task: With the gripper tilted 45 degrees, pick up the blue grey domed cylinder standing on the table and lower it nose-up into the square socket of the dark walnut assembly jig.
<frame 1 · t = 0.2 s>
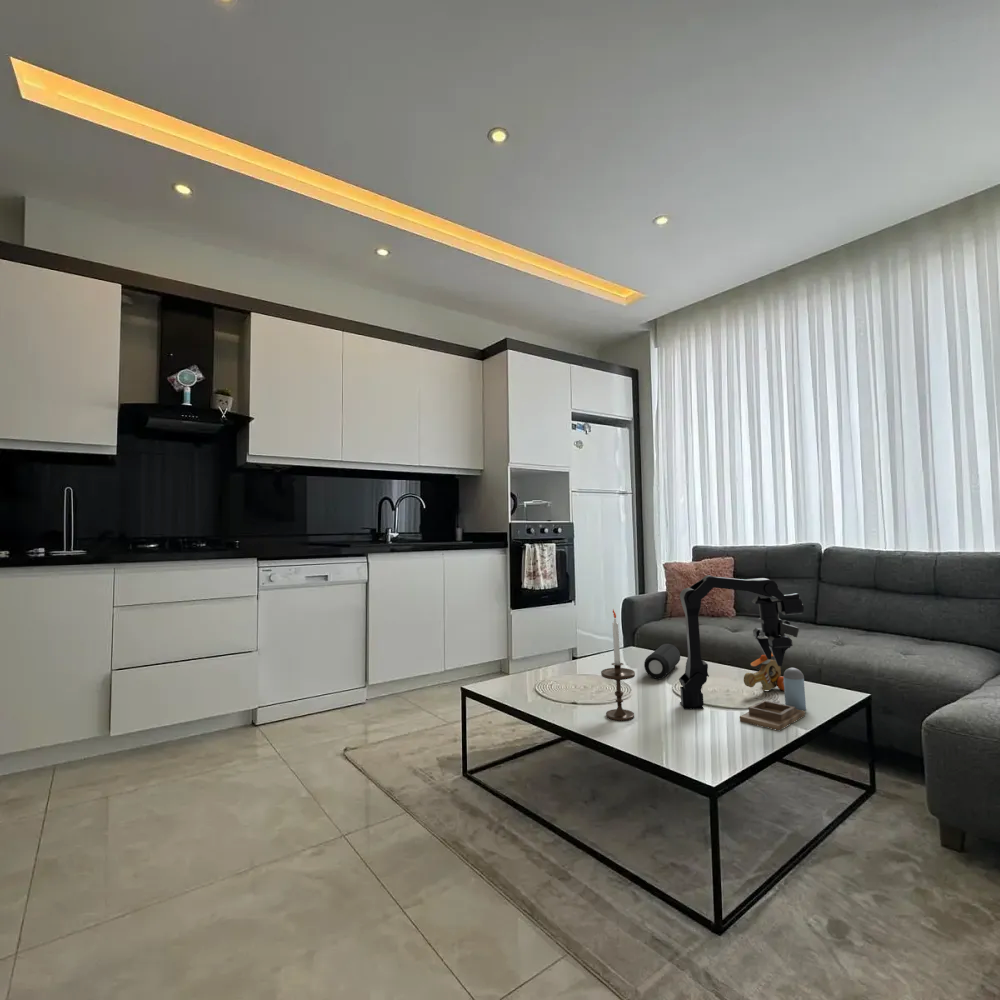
hand: (774, 662, 186), 14 cm above the table, tool pointing down, fingers open, 9 cm apart
blue grey domed cylinder: (795, 707, 183), on the table
candlestick: (620, 717, 182), on the table
portable speaker: (663, 673, 232), on the table
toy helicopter: (765, 692, 202), on the table
assembly jig: (772, 718, 174), on the table
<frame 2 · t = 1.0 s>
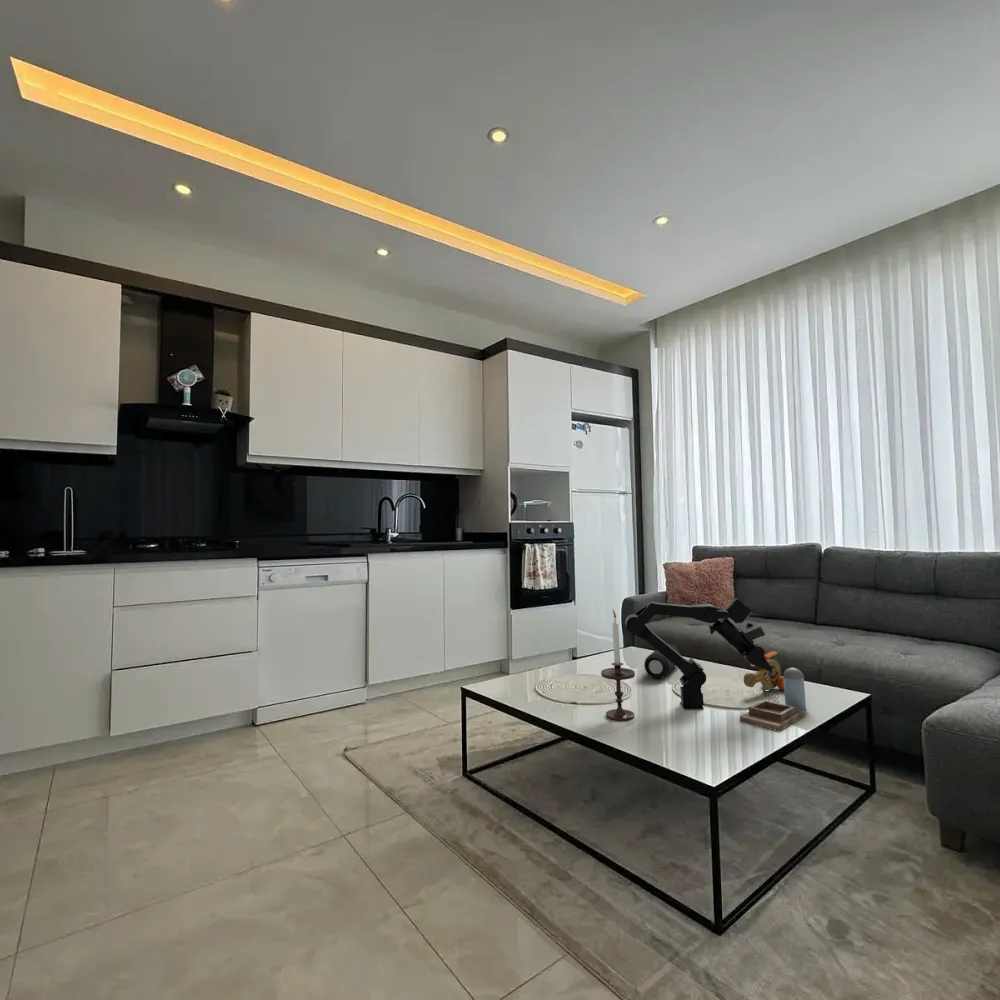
hand: (767, 666, 185), 13 cm above the table, tool tilted 45°, fingers open, 9 cm apart
nothing on the table moved.
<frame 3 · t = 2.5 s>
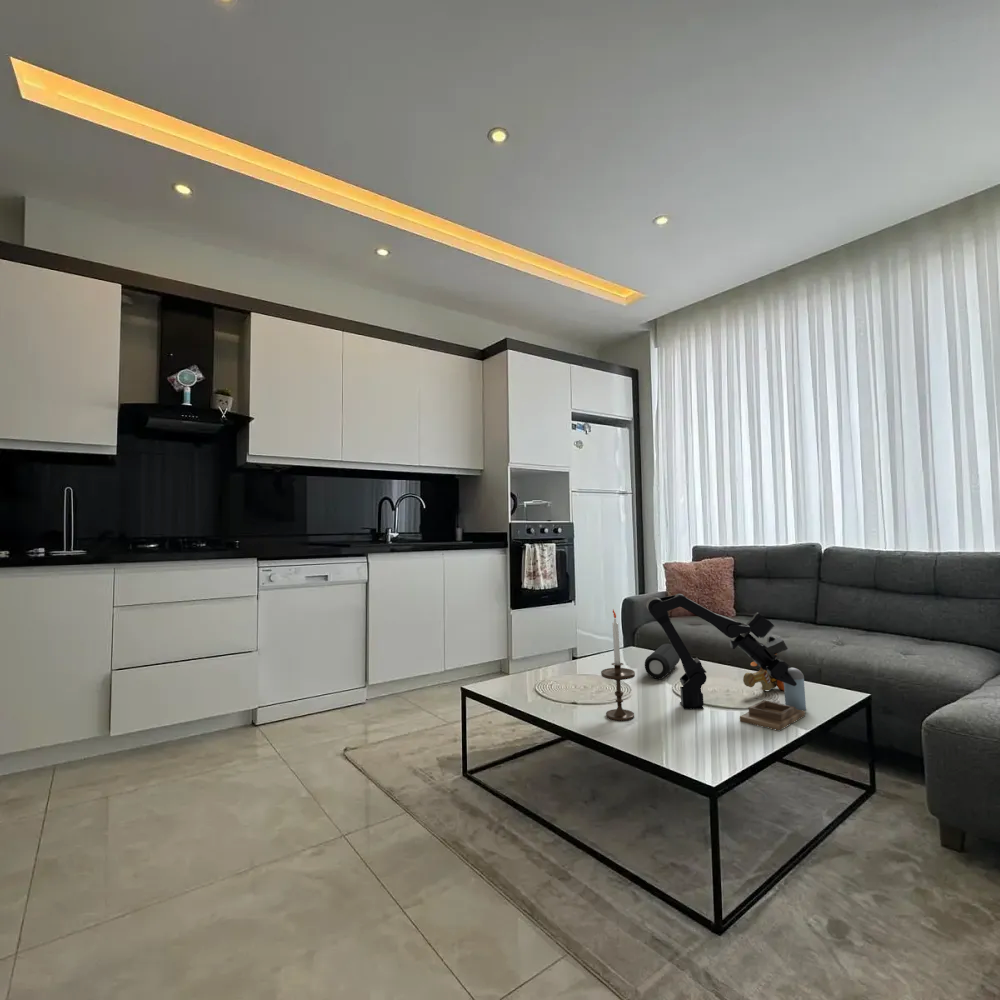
hand: (790, 681, 184), 9 cm above the table, tool tilted 45°, fingers open, 9 cm apart
nothing on the table moved.
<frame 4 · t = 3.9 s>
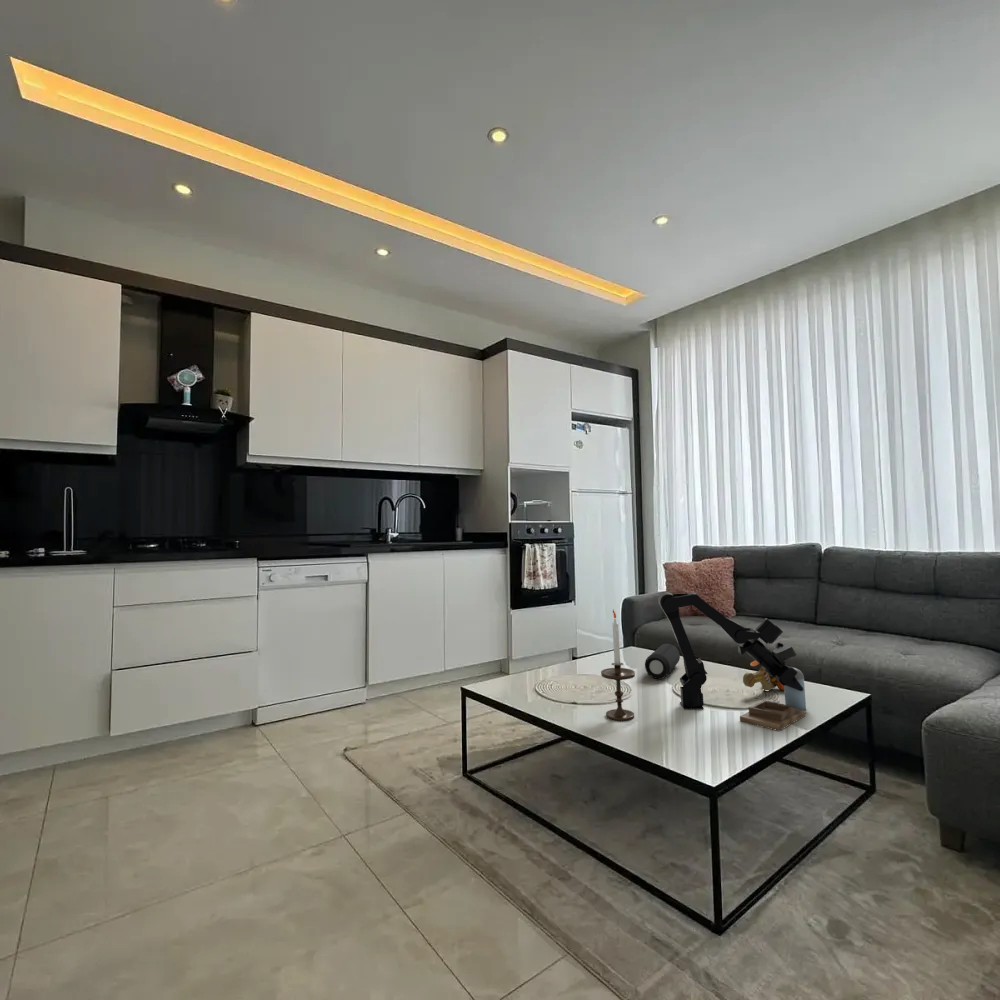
hand: (798, 687, 183), 7 cm above the table, tool tilted 45°, fingers closed on blue grey domed cylinder, 6 cm apart
blue grey domed cylinder: (795, 707, 183), on the table, touching gripper
everything else where it was.
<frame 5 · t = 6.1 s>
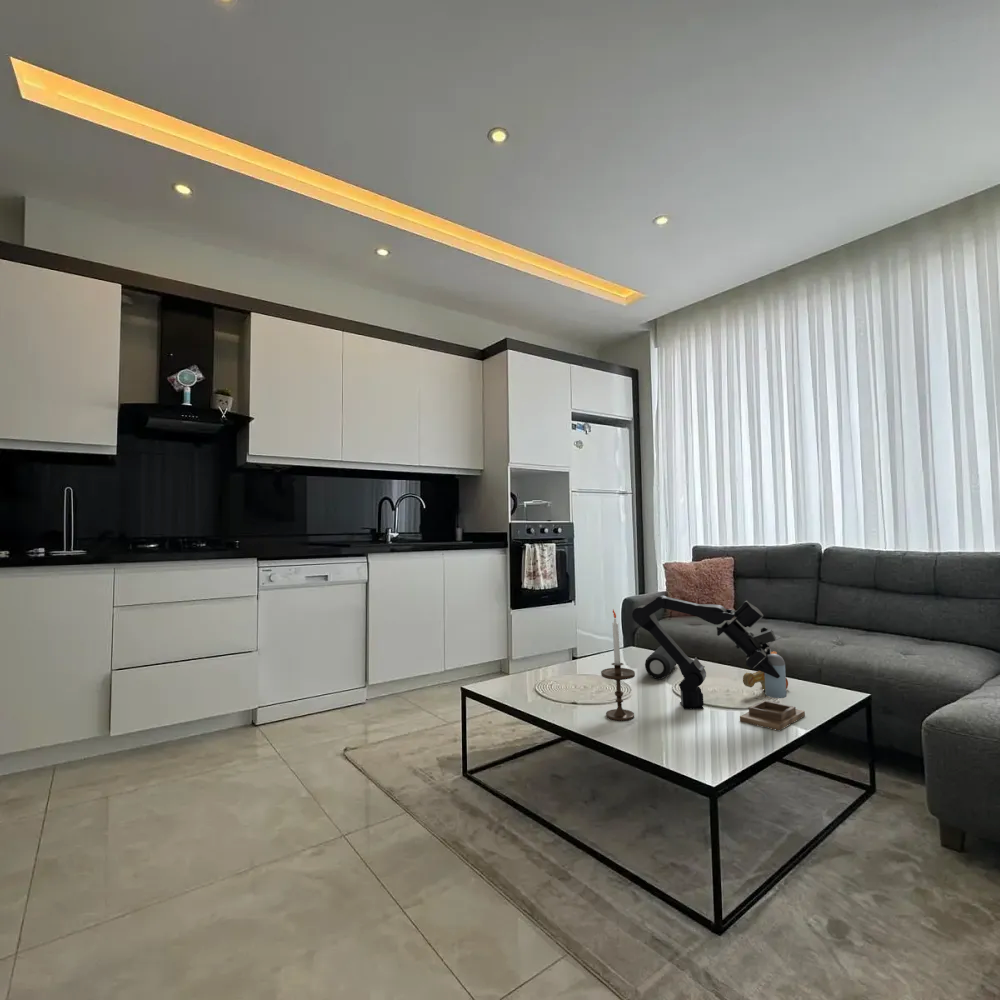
hand: (779, 674, 176), 13 cm above the table, tool tilted 45°, fingers closed on blue grey domed cylinder, 6 cm apart
blue grey domed cylinder: (775, 695, 176), point 7 cm above the table, touching gripper
everything else where it was.
when the fingers open (9 cm above the table, at t = 8.3 s): blue grey domed cylinder stays where it is, resting on assembly jig.
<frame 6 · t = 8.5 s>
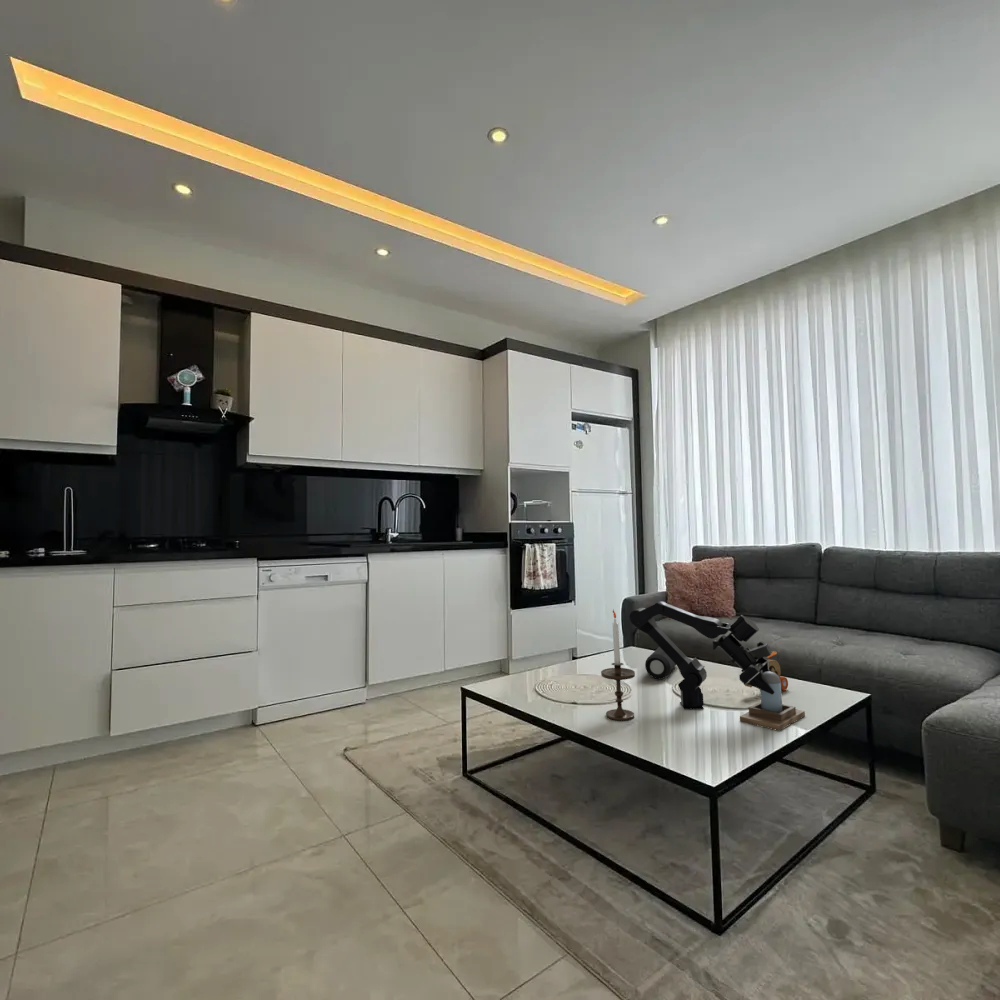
hand: (775, 689, 174), 9 cm above the table, tool tilted 45°, fingers open, 8 cm apart
blue grey domed cylinder: (772, 713, 175), point 2 cm above the table, touching assembly jig
everything else where it was.
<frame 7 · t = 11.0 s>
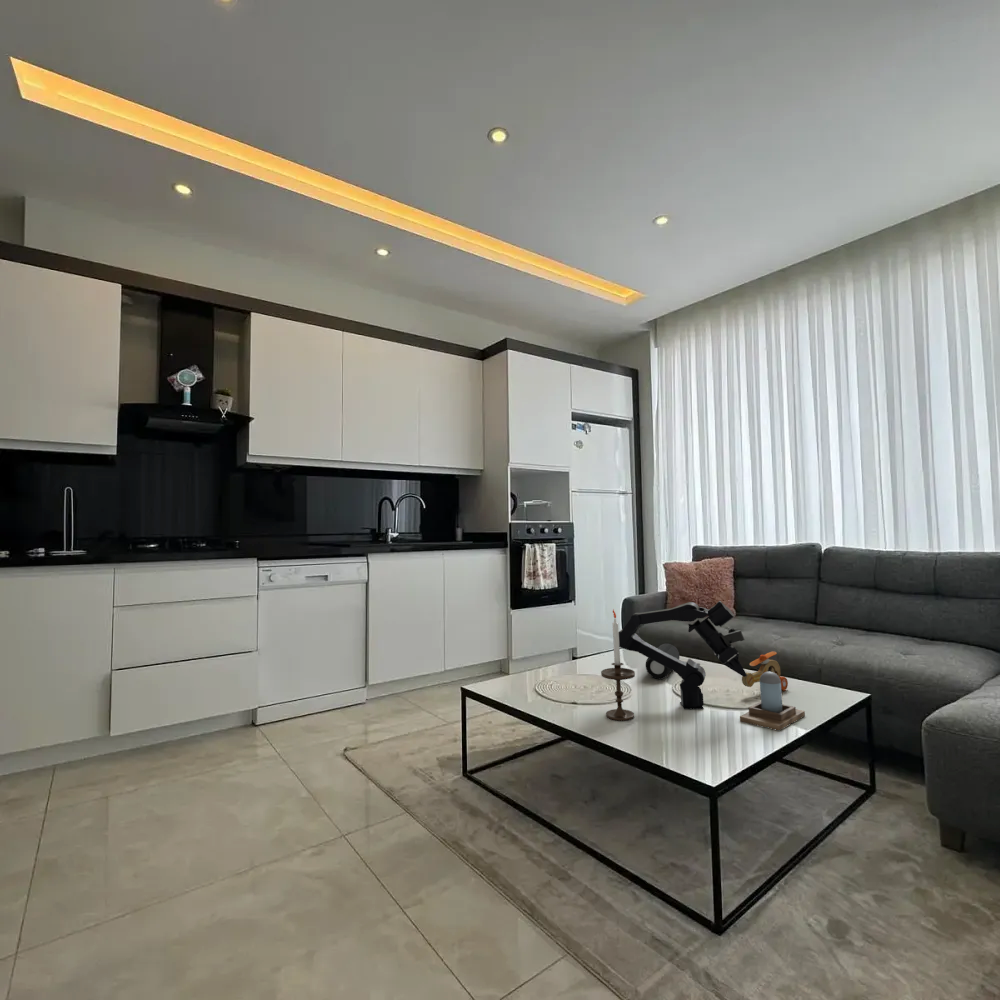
hand: (743, 674, 182), 12 cm above the table, tool tilted 40°, fingers open, 9 cm apart
nothing on the table moved.
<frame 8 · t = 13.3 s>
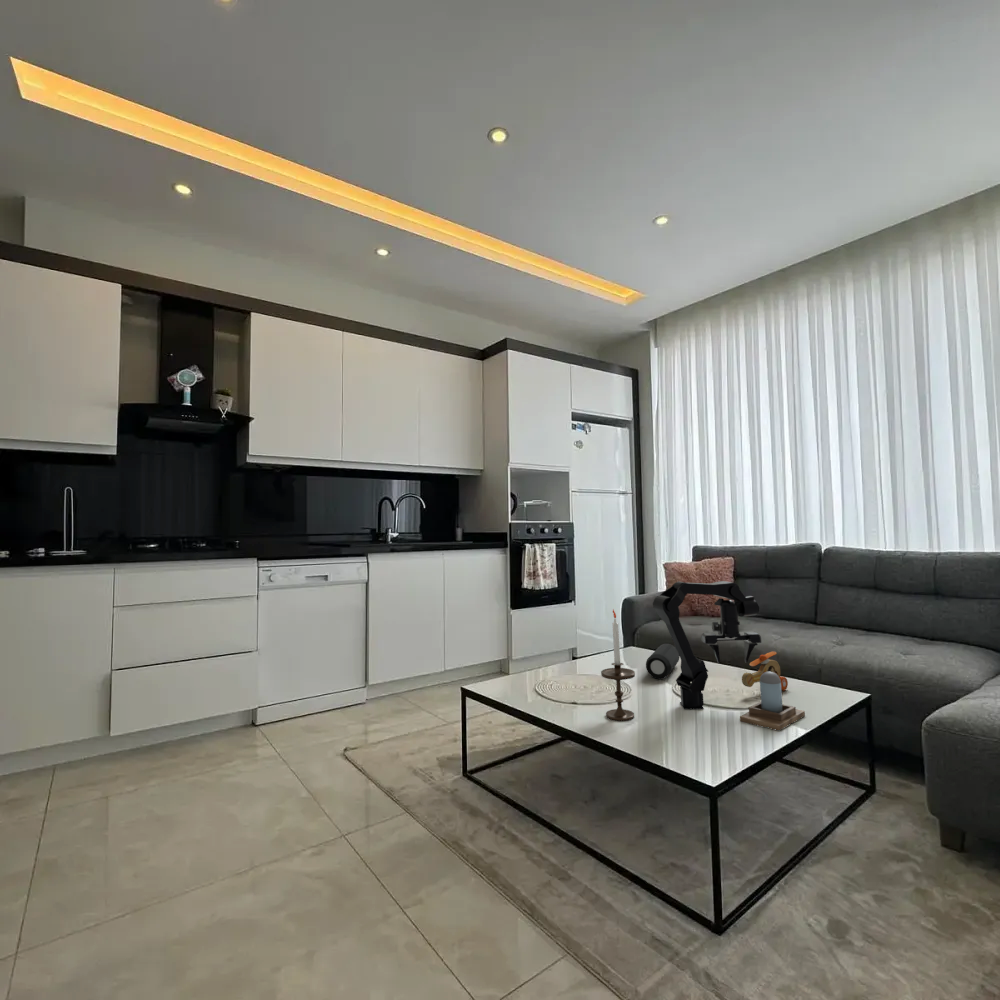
hand: (732, 662, 194), 13 cm above the table, tool pointing down, fingers open, 9 cm apart
nothing on the table moved.
at the end: blue grey domed cylinder 0.1 cm off-centre on the assembly jig, point 1.5 cm above the assembly jig's base; blue grey domed cylinder tilted 0°; the gripper is holding nothing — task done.
